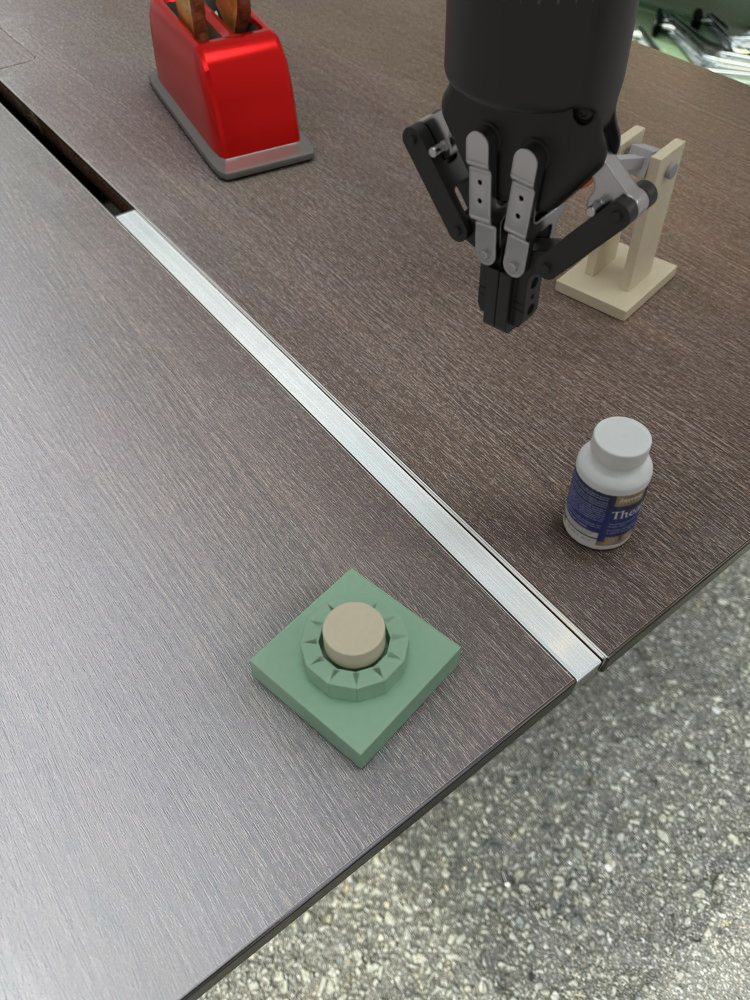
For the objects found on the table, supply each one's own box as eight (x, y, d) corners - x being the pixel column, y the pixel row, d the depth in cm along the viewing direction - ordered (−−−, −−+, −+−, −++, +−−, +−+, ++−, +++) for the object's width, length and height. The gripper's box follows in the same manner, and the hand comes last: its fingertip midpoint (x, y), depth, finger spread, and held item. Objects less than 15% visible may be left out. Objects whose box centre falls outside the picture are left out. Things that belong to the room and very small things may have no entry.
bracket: (623, 322, 82) (660, 178, 70) (554, 290, 85) (578, 148, 74) (674, 275, 86) (716, 134, 75) (606, 247, 90) (637, 108, 79)
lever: (579, 197, 66) (595, 149, 64) (540, 182, 67) (555, 134, 65) (659, 187, 77) (675, 146, 75) (625, 174, 79) (640, 134, 77)
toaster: (145, 81, 119) (112, -75, 104) (231, 63, 122) (210, -91, 108) (221, 185, 100) (192, 11, 85) (320, 159, 103) (308, -11, 89)
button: (398, 639, 55) (398, 625, 53) (356, 681, 53) (355, 667, 52) (352, 605, 56) (351, 590, 55) (311, 644, 55) (309, 630, 53)
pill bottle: (607, 564, 63) (636, 476, 55) (548, 526, 65) (568, 438, 58) (645, 522, 65) (678, 433, 58) (587, 487, 68) (610, 398, 60)
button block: (459, 663, 58) (463, 632, 55) (361, 770, 53) (359, 742, 50) (352, 584, 62) (350, 552, 59) (252, 676, 57) (245, 645, 54)
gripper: (756, -42, 31) (650, 336, 44) (466, -102, 37) (449, 247, 50) (656, 21, 27) (573, 412, 40) (352, -57, 33) (366, 307, 46)
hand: (504, 321), depth 45 cm, fingers closed
